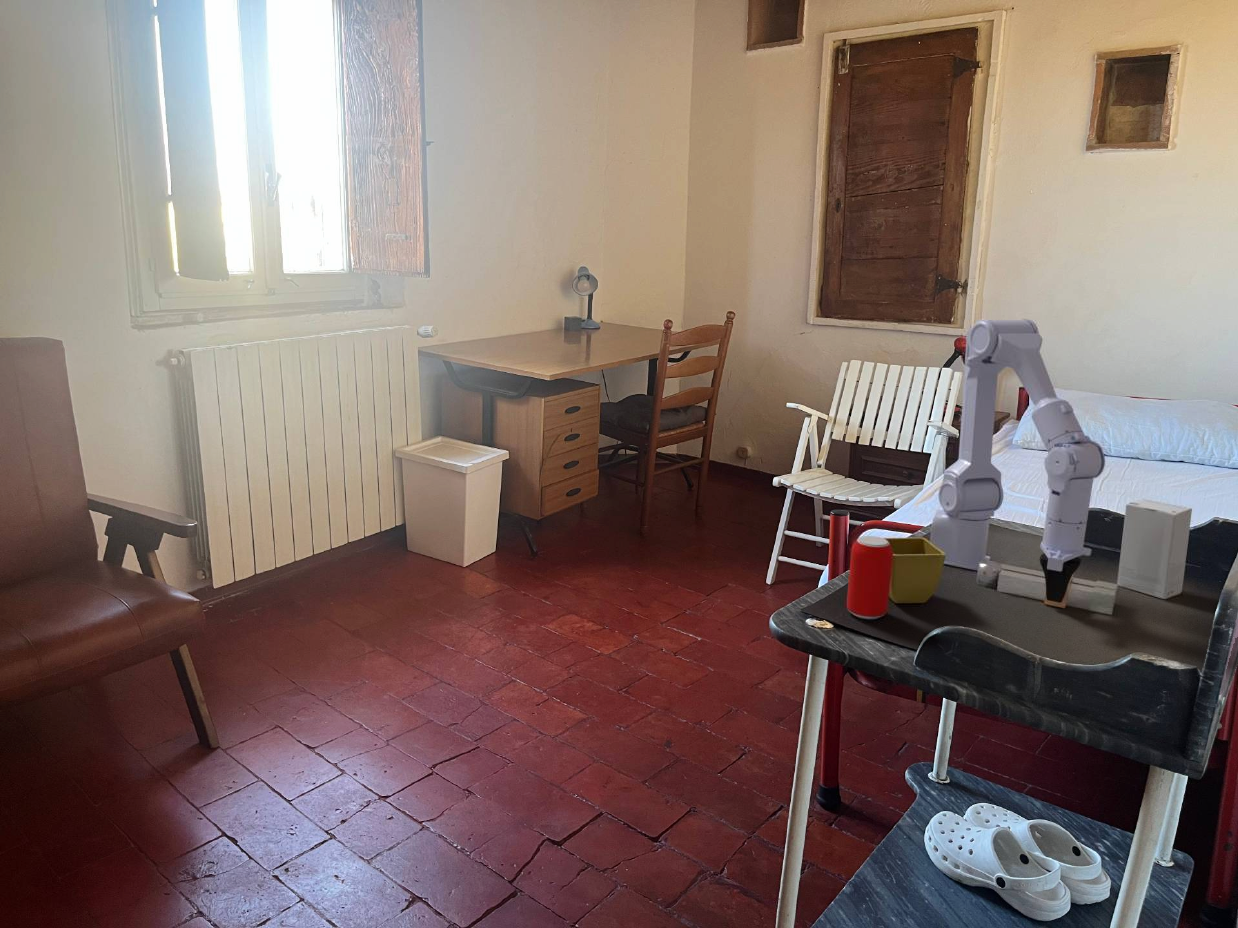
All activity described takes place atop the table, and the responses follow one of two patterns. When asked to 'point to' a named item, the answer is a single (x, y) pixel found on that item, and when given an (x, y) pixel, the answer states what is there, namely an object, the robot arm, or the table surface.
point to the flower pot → (914, 569)
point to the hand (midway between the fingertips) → (1054, 600)
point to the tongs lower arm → (1077, 596)
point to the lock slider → (1058, 602)
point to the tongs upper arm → (991, 570)
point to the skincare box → (1154, 548)
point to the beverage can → (869, 577)
